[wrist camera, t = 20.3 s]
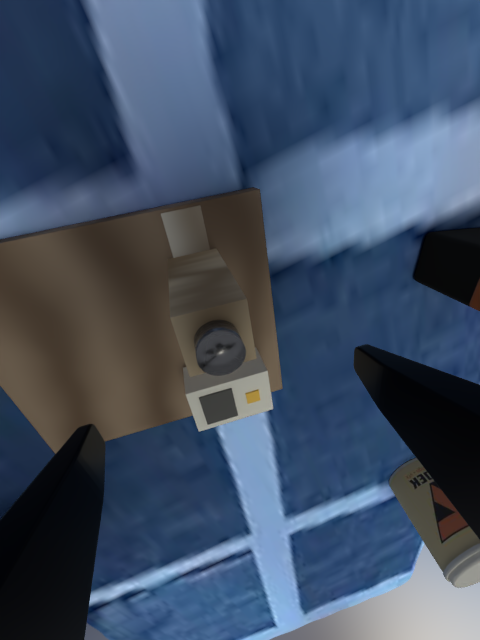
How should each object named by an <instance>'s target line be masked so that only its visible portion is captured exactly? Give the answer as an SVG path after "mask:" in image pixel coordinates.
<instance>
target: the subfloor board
mask: <svg viewBox="0 0 480 640" xmlns="http://www.w3.org/2000/svg"><path fill="white" fill-rule="evenodd" d="M215 248H216V249H217V250H218V252H219V254H220V255H221V257H222V259H223V260H224V262H225V264H226V265H227V267H228V269H229V270H230V272H231V273H232V275H233V277H234V278H235V280H236V282H237V283H238V285H239V287H240V288H241V290H242V291H243V293H244V295H245V296H246V298H247V302H248V309H249V315H250V321H251V327H252V333H253V339H254V346H255V348H257V350H258V352H259V354H260V356H261V358H262V360H263V362H264V364H265V366H266V368H267V370H268V377H269V384H270V391H271V392H273V391H276V390H280V389H282V380H281V371H280V362H279V353H278V345H277V336H276V327H275V318H274V310H273V301H272V292H271V283H270V274H269V266H268V257H267V248H266V239H265V231H264V222H263V213H262V204H261V195H260V189H257V188H254V187H252V188H248V189H243V190H238V191H233V192H228V193H223V194H219V195H214V196H209V197H204V198H199V199H194V200H189V201H185V202H180V203H175V204H170V205H165V206H160V207H155V208H151V209H146V210H141V211H136V212H131V213H126V214H122V215H117V216H112V217H107V218H102V219H97V220H92V221H88V222H83V223H78V224H73V225H68V226H63V227H58V228H54V229H49V230H44V231H39V232H34V233H29V234H25V235H20V236H15V237H10V238H5V239H0V386H1V387H2V388H3V389H4V391H5V392H6V393H7V394H8V396H9V397H10V398H11V399H12V401H13V402H14V403H15V404H16V406H17V407H18V408H19V409H20V411H21V412H22V413H23V414H24V415H25V417H26V418H27V419H28V420H29V422H30V423H31V424H32V425H33V427H34V428H35V429H36V430H37V432H38V433H39V434H40V435H41V437H42V438H43V439H44V440H45V442H46V443H47V444H48V445H49V447H50V448H51V449H52V450H53V451H54V453H55V454H56V453H57V452H58V451H59V449H60V448H61V447H62V446H63V445H64V443H65V442H66V441H67V440H68V439H69V438H70V436H71V435H72V434H73V433H74V432H75V430H76V429H77V428H78V427H80V426H83V425H87V424H94V425H95V426H96V428H97V429H98V431H99V433H100V434H101V436H102V437H103V439H104V441H108V440H112V439H115V438H118V437H122V436H125V435H128V434H132V433H135V432H138V431H142V430H145V429H149V428H152V427H155V426H159V425H162V424H165V423H169V422H172V421H175V420H179V419H182V418H186V417H189V416H192V415H193V414H192V411H191V408H190V406H189V403H188V400H187V397H186V394H185V384H184V374H183V368H184V367H186V364H185V361H184V358H183V355H182V352H181V349H180V346H179V343H178V340H177V337H176V334H175V331H174V328H173V325H172V322H171V319H170V302H169V282H168V261H167V259H171V258H176V257H180V256H184V255H189V254H193V253H198V252H202V251H206V250H211V249H215Z"/></svg>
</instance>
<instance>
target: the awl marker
mask: <svg viewBox="0 0 480 640" xmlns="http://www.w3.org/2000/svg"><path fill="white" fill-rule="evenodd" d="M167 261H168V282H169V302H170V319H171V322H172V325H173V328H174V331H175V334H176V337H177V340H178V343H179V346H180V349H181V352H182V355H183V358H184V361H185V364H186V367H187V370H188V373H189V376H190V377H193V376H196V375H200V374H203V373H207V374H210V375H214V376H222V375H227V374H229V373H232V372H234V371H235V370H237V369H238V368H239V367H240V366H241V365H242V363H243V362H247V361H250V360H254V359H257V358H256V352H255V346H254V339H253V333H252V327H251V321H250V315H249V309H248V302H247V298H246V296H245V295H244V293H243V291H242V290H241V288H240V287H239V285H238V283H237V282H236V280H235V278H234V277H233V275H232V273H231V272H230V270H229V269H228V267H227V265H226V264H225V262H224V260H223V259H222V257H221V255H220V254H219V252H218V250H217V249H216V248H215V249H211V250H206V251H202V252H198V253H193V254H189V255H184V256H180V257H176V258H171V259H167Z"/></svg>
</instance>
